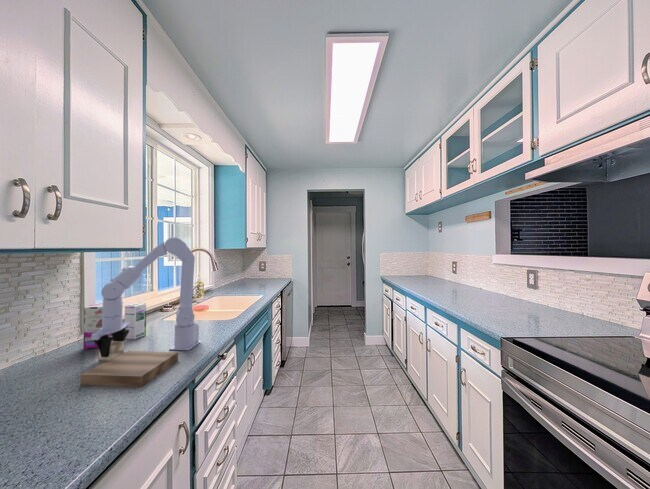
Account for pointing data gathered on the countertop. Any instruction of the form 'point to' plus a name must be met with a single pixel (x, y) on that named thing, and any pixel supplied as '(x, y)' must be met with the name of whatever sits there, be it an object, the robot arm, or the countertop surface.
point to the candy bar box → (92, 325)
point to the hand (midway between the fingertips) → (111, 353)
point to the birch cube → (114, 350)
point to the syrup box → (136, 320)
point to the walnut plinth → (130, 369)
